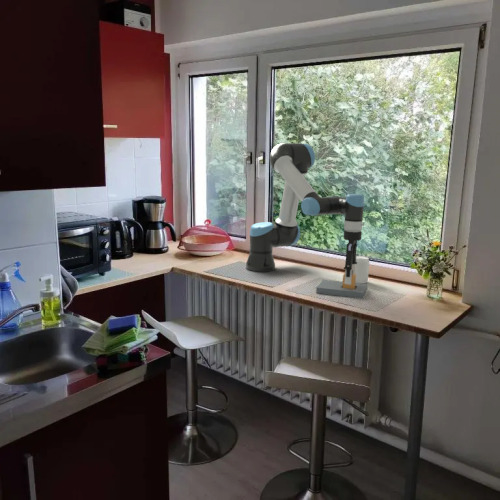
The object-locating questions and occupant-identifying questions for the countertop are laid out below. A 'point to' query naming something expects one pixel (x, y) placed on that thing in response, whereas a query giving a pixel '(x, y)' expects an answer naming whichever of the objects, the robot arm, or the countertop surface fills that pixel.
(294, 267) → the countertop surface
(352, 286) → the orange bottle
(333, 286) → the socket block
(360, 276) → the beverage can
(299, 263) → the countertop surface
